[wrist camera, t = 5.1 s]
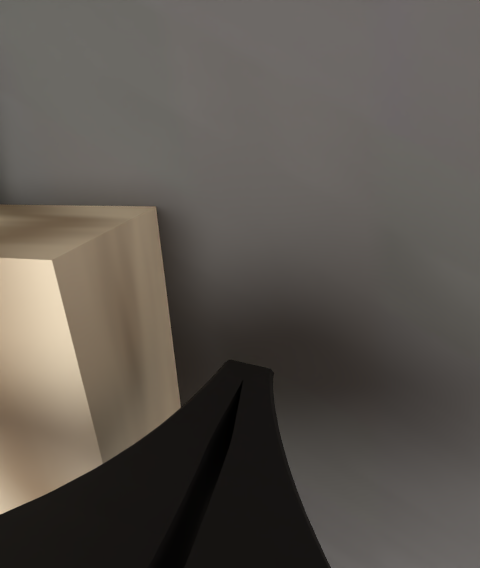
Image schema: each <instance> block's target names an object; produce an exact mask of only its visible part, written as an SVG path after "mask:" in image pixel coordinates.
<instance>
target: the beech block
mask: <svg viewBox="0 0 480 568" xmlns="http://www.w3.org/2000/svg"><path fill="white" fill-rule="evenodd" d="M180 408H181V405H180V396H179V388H178V380H177V372H176V364H175V356H174V348H173V340H172V332H171V324H170V316H169V308H168V300H167V292H166V284H165V275H164V267H163V259H162V251H161V243H160V235H159V227H158V219H157V211H156V207H151V206H72V205H0V514H3V513H5V512H7V511H9V510H12V509H14V508H16V507H18V506H21V505H23V504H25V503H27V502H30V501H32V500H34V499H36V498H39V497H41V496H43V495H45V494H47V493H49V492H51V491H53V490H55V489H57V488H59V487H61V486H63V485H65V484H67V483H68V482H70V481H72V480H74V479H76V478H78V477H80V476H82V475H84V474H85V473H87V472H89V471H91V470H93V469H95V468H96V467H98V466H100V465H101V464H103V463H105V462H106V461H108V460H110V459H111V458H113V457H114V456H116V455H118V454H119V453H121V452H122V451H124V450H125V449H127V448H129V447H130V446H132V445H133V444H135V443H136V442H137V441H139V440H140V439H142V438H143V437H145V436H146V435H147V434H149V433H150V432H151V431H153V430H154V429H155V428H157V427H158V426H159V425H161V424H162V423H163V422H164V421H166V420H167V419H168V418H169V417H170V416H171V415H173V414H174V413H175V412H176V411H177V410H179V409H180Z"/></svg>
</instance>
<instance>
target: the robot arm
mask: <svg viewBox="0 0 480 568" xmlns="http://www.w3.org/2000/svg"><path fill="white" fill-rule="evenodd" d="M273 374H274V373H273V371H272V370H271V369H269V368H264V367H260V366H255V365H251V364H246V363H242V362H237V361H233V360H228V361H227V362H225V363H224V365H223V366H222V367H221V368H220V369H219V370H218V372H217V373H216V374H215V375H214V376H213V377H212V378H211V379H210V380H209V381H208V382H207V383H206V384H205V385H204V386H203V387H202V388H201V389H200V390H199V391H198V392H197V393H196V394H195V395H194V396H193V397H192V398H191V399H190V400H189V401H188V402H187V403H186V404H184V405H183V406H182V407H181V408H180V409H179V410H177V411H176V412H175V413H174V414H173V415H171V416H170V417H169V418H168V419H167V420H166V421H164V422H163V423H162V424H161V425H159V426H158V427H157V428H155V429H154V430H153V431H151V432H150V433H149V434H147V435H146V436H145V437H143V438H142V439H140V440H139V441H137V442H136V443H135V444H133V445H132V446H130V447H129V448H127V449H125V450H124V451H122V452H121V453H119V454H118V455H116V456H114V457H113V458H111V459H110V460H108V461H106V462H105V463H103V464H101V465H100V466H98V467H96V468H95V469H93V470H91V471H89V472H87V473H85V474H84V475H82V476H80V477H78V478H76V479H74V480H72V481H70V482H68V483H67V484H65V485H63V486H61V487H59V488H57V489H55V490H53V491H51V492H49V493H47V494H45V495H43V496H41V497H39V498H36V499H34V500H32V501H30V502H27V503H25V504H23V505H21V506H18V507H16V508H14V509H12V510H9V511H7V512H5V513H3V514H0V568H331V567H330V565H329V563H328V561H327V559H326V557H325V555H324V553H323V550H322V548H321V546H320V544H319V541H318V539H317V537H316V535H315V533H314V530H313V528H312V526H311V524H310V521H309V519H308V517H307V515H306V512H305V510H304V507H303V504H302V502H301V499H300V497H299V494H298V492H297V489H296V486H295V483H294V480H293V477H292V474H291V471H290V468H289V465H288V462H287V458H286V455H285V451H284V447H283V444H282V440H281V436H280V432H279V427H278V422H277V417H276V411H275V405H274V396H273Z"/></svg>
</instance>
